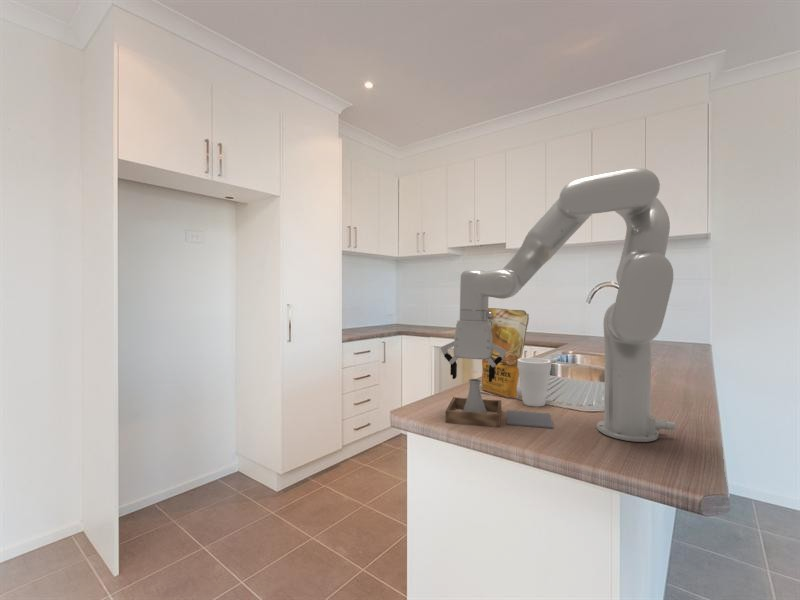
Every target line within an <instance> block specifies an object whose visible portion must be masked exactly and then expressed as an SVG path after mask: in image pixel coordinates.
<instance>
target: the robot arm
mask: <svg viewBox="0 0 800 600" xmlns="http://www.w3.org/2000/svg"><path fill="white" fill-rule="evenodd" d="M660 187H661V184H660V180H659V178H658V176H657V175H656V173H654V172H653V171H652V170H649V169H647V168H642V167H635V168H627V169H621V170H617V171H613V172H608V173H607V172H606V173H602V174H597V175H592V176H586V177H581V178H577V179H573V180H572V181H569V182H568V183H567V184H566V185H565V186H564V187H563V188H562V189H561V190H560V191H561V192H560V193H559V198H557V200H556V201H555V203H554V204H552V205H551V206H550V208H549V209H548V210H547V211H546V212H545V214H543V216H542V217H541V218H540V219H539V220H538V221H537V222H536V223H535V224H534V226H532V228H531V229H530V230H529V231H528V233H527V234H526V236H525V238H524V240H523V241H522V244H521V246H520V247H519V249H518V250H517V252H516V253H515V255H513V257H512V258H511V259H510V260H509V261H508V262H507V264H505V266H504V267H503V268H502V269H495V270H487V271H486V270H473V269H472V270H468V269H467V270H464V271H462V272H461V274H460V285H459V287H460V289H459V290H460V291H459V293H460V294H459V320H457V321H456V326H455V331H454V338H453V339H454V340H452V342H450V343H447V344H445V345H443V346H441V347H440V350H441V352H442V355H443V357H444V358H445V360H446V361H448V363H449V364H450V373H449V374H450V376H452V380H455V379H456V378H457V375H458V374H457V373H458V372H457V370H458V369H457V368H458V363H457V360H458V359H469V360H470V359H471V360H482V359H483V360H485V359H486V360H487V361H488V362H489V364H490V366H489V381H490V382H492V378H494V379H495V366H496V365H497V364H498V363H500V362H501V361H502V359H503V357H504V356H505V354H506V350H504V349H502V348H501V347H499V346H497V345H495V344H494V343H493V339H492V326H491V322H488V319H489V318H493V317H494V313H491V312H489V311H488V308H489V298H494V299H500V300H501V299H502V300H504V299H509V298H512V297H514V296H515V295H517V294H518V293H519V291H521V289H522V288H523V287H524V286H525V285H526V284H527V283H528V282H529V281H530V280H531V279H532V278H533V277H534V276H535V274H537V272H538V271H540V270H541V268H542V267H543V266H544V265H545V264H546V263H547V262H548V261H550V260H551V259H552V258H553V256H554V255H555V254H556V253H557V252H558V251H559V250H560V249H561V248H562V247H563V246H564V245H565V243H566V242H567V241H568V240H569V239H570V238H571V237H572V236H573V235H574V234H575V233H576V232H577V231H578V230H579V229H580V228H581V227H582V226H583V224H585V223H586V222H587V220H588V219H590V217H591V216H592V215H593V214H602V213H608V212H609V213H611V212H615V213H616V214H618V215H619V216H620V217H622V218H623V219H622V220H624V222H625V226H626V233H625V238H624V243H623V248H622V251H621V255H620V256H621V257H620V260H619V264H618V267H617V270H616V274H615V275H616V277H615V279H616V282H617V284H618V289H617V294H616V299H615V302H613V303H612V304H610V306H609V307H608V308H607V309H606V311H605V313H604V317H603V337H604V338H603V339H604V400H603V401H604V405H603V406H604V415H603V416H604V417H603V418H604V419H603V420H600V421H598V422H597V424H596V425H597V431H599V432H600V433H601V434H603V435H605V436H607V437H610V438H613V439H618V440H621V441H627V442H637V443H649V442H654V441H657V440H658V439H659V435H660V434H659V431H660V429H661V430H666V431H667V430H668V431H669V430H670V431H675V430H676V422H675V421H672V420H671V421H668V420H665V419H664V418H655V417H654V416H653V415H652V414H651V413H652V404H651V403H652V401H651V400H652V399H651V398H652V391H651V390H652V347H651V345H652V344H651V341H653V340H655V338H657V336H658V334H659V333H660V332H661V329H662V327H663V323H664V321H665V316H666V312H667V308H668V304H669V300H670V296H671V292H672V288H673V283H674V269H673V265H672V263H671V262H670V260H669V259H668V258H667V257H666V252H667V249H668V248H667V247H668V242H669V237H670V229H671V223H670V216H669V213H668V212H667V210H666V207H665V206H664V204H663V203H662V202H661V200H660V199H659V198H657V196H658V195H659V191H660ZM451 348H453V356H452V355H451V354H450V353H449V351H448V350H449V349H451ZM493 349H494V350H496V351H497V352H499V353H500V354H499V356H498V357H497V358H496V359H495V360H494V359H493V358H492V357H491V355H492V352H493Z"/></svg>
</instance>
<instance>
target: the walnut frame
mask: <svg viewBox="0 0 800 600" xmlns="http://www.w3.org/2000/svg"><path fill="white" fill-rule="evenodd" d="M466 400H467V397H457V396H455V397H454V396H453V397H452V399H451V400H450V402H449V404H448V406H447V408H446V410H445V423H446V424H449V423H450V424H459V425H470V426H480V427H481V426H483V427H494V428H501V418H502V399H501V400H500V399H488V398H487V399H485V398H482V400H483V403H484V405H485V408H486V411H487V413H477V412H464V411H463V409H464V406H465V403H466ZM456 409H460V410H456ZM488 412H496V413H488Z"/></svg>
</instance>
